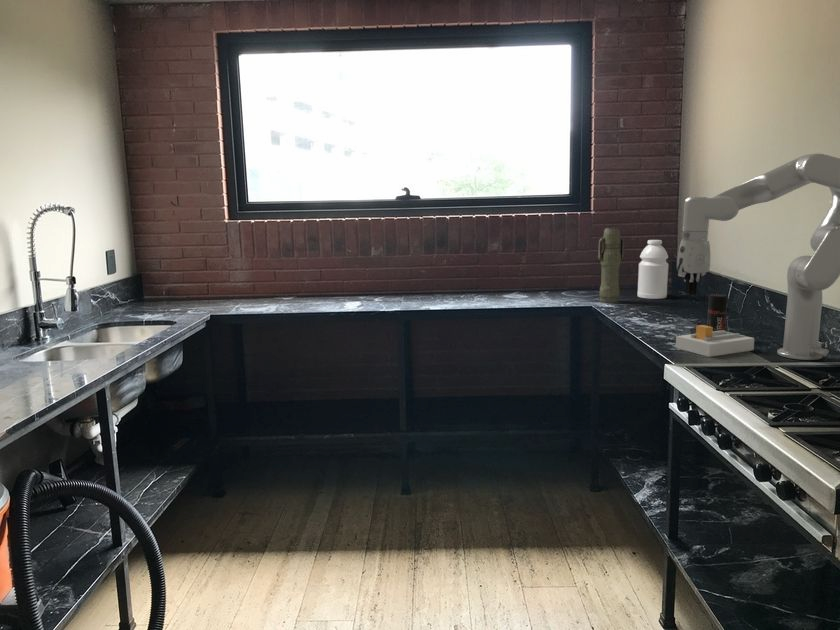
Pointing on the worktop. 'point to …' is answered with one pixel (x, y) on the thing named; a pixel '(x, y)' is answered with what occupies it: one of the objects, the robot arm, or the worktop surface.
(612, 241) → the thermos
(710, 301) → the deodorant
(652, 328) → the worktop surface
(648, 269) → the bottle
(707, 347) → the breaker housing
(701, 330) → the block
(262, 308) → the worktop surface
